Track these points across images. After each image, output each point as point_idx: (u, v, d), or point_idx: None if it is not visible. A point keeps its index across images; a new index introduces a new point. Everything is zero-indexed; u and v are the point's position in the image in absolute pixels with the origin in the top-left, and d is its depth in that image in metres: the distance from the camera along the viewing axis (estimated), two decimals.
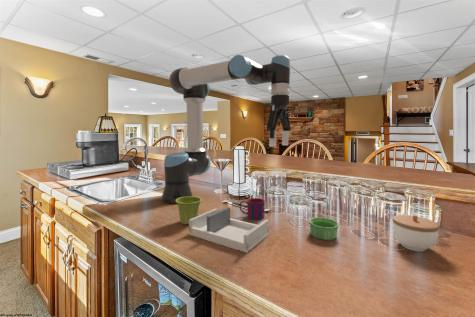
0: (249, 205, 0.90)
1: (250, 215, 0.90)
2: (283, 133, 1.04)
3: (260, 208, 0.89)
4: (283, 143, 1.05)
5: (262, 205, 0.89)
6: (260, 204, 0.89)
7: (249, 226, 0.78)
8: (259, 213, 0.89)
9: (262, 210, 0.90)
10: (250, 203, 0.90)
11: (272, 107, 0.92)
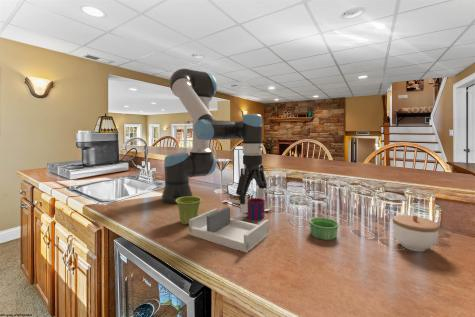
0: (249, 205, 0.90)
1: (250, 215, 0.90)
2: (258, 190, 0.97)
3: (260, 208, 0.89)
4: None
5: (262, 205, 0.89)
6: (260, 204, 0.89)
7: (249, 226, 0.78)
8: (259, 213, 0.89)
9: (262, 210, 0.90)
10: (250, 203, 0.90)
11: (242, 170, 0.85)
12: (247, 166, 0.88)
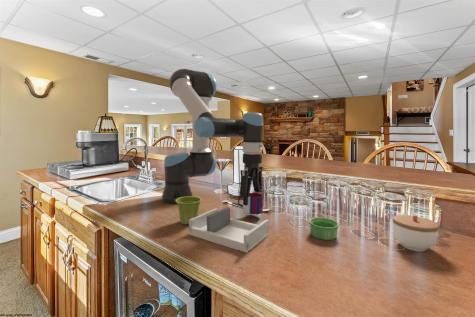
0: None
1: None
2: None
3: (258, 203, 0.89)
4: None
5: (260, 200, 0.89)
6: (259, 199, 0.89)
7: (249, 226, 0.78)
8: (257, 208, 0.89)
9: (260, 205, 0.89)
10: None
11: (242, 173, 0.86)
12: (247, 165, 0.88)
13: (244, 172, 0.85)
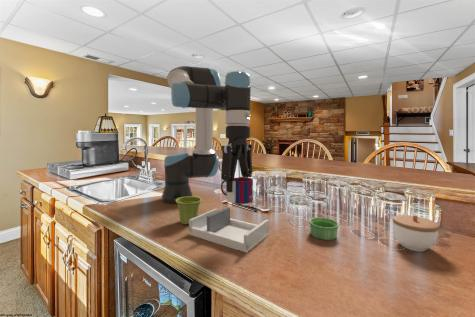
0: None
1: None
2: None
3: (247, 188, 0.69)
4: None
5: (249, 185, 0.69)
6: (247, 183, 0.68)
7: (249, 226, 0.78)
8: (245, 195, 0.69)
9: (249, 191, 0.69)
10: None
11: (224, 149, 0.66)
12: (230, 139, 0.68)
13: (226, 148, 0.65)
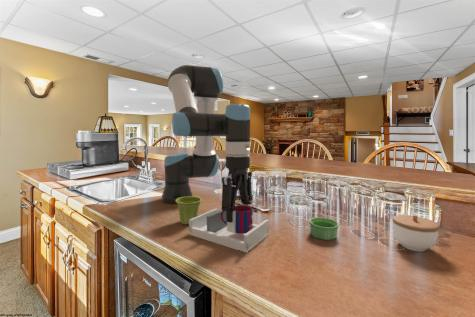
0: None
1: None
2: None
3: (246, 219, 0.69)
4: None
5: (249, 215, 0.70)
6: (246, 213, 0.69)
7: None
8: (245, 225, 0.70)
9: (249, 221, 0.70)
10: None
11: (224, 181, 0.67)
12: (230, 170, 0.69)
13: (226, 180, 0.66)
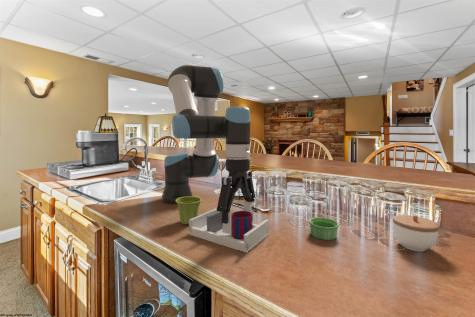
0: (233, 221, 0.71)
1: (234, 233, 0.71)
2: (245, 205, 0.78)
3: (247, 225, 0.70)
4: None
5: (249, 221, 0.70)
6: (246, 220, 0.70)
7: None
8: (245, 231, 0.70)
9: (249, 227, 0.71)
10: (234, 218, 0.70)
11: (224, 180, 0.67)
12: (230, 173, 0.69)
13: (226, 180, 0.66)
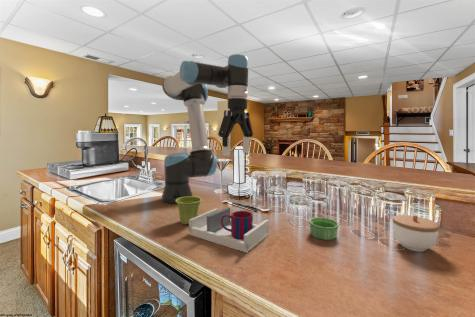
0: (233, 221, 0.71)
1: (234, 233, 0.71)
2: (244, 139, 0.96)
3: (247, 225, 0.70)
4: (244, 150, 0.96)
5: (249, 221, 0.70)
6: (246, 220, 0.70)
7: None
8: (245, 231, 0.70)
9: (249, 227, 0.71)
10: (234, 218, 0.70)
11: (225, 112, 0.83)
12: (231, 109, 0.86)
13: (228, 111, 0.83)
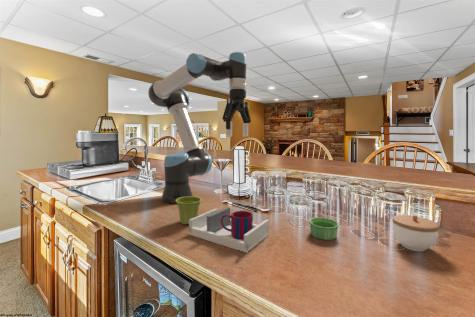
0: (233, 221, 0.71)
1: (234, 233, 0.71)
2: (243, 125, 1.12)
3: (247, 225, 0.70)
4: (243, 134, 1.12)
5: (249, 221, 0.70)
6: (247, 220, 0.70)
7: None
8: (245, 231, 0.70)
9: (249, 227, 0.71)
10: (234, 218, 0.70)
11: (228, 100, 0.99)
12: (232, 98, 1.02)
13: (230, 99, 0.99)
